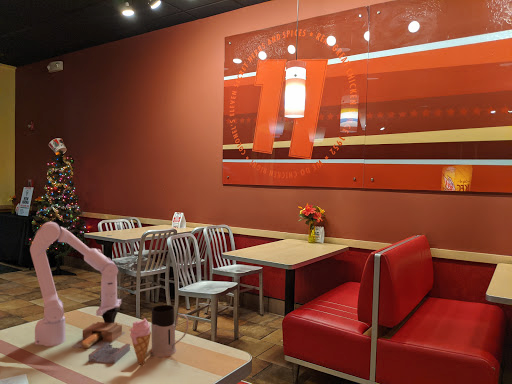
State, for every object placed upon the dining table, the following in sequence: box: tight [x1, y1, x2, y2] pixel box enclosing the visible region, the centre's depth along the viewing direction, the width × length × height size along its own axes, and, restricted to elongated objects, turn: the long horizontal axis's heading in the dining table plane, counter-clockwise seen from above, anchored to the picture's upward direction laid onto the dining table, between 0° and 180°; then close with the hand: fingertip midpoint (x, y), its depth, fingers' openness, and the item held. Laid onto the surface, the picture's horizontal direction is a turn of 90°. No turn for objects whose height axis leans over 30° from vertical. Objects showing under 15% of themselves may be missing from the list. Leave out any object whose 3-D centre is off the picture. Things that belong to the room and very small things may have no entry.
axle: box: [81, 331, 103, 350], centre depth 142 cm, size 3×14×3 cm, turn 171°
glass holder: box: [150, 304, 189, 358], centre depth 133 cm, size 9×14×15 cm, turn 69°
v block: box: [88, 342, 131, 365], centre depth 129 cm, size 9×10×3 cm
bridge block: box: [71, 321, 126, 350], centre depth 143 cm, size 12×15×5 cm
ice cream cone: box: [128, 318, 152, 366], centre depth 125 cm, size 7×6×15 cm
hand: (109, 328), depth 150 cm, fingers closed
